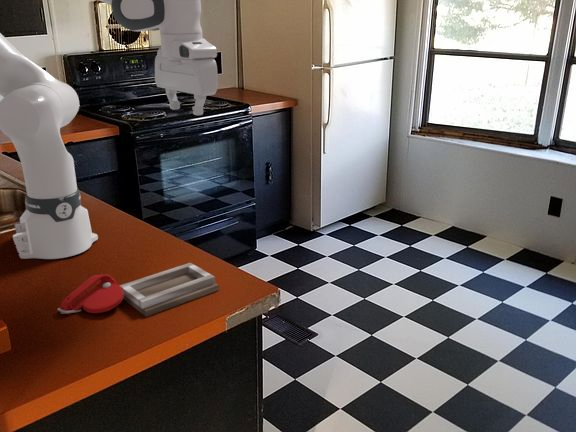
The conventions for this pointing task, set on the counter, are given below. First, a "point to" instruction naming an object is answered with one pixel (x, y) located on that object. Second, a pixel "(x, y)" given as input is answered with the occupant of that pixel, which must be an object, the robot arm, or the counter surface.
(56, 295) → the counter surface
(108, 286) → the tracker holder
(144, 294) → the grey rectangular tray
